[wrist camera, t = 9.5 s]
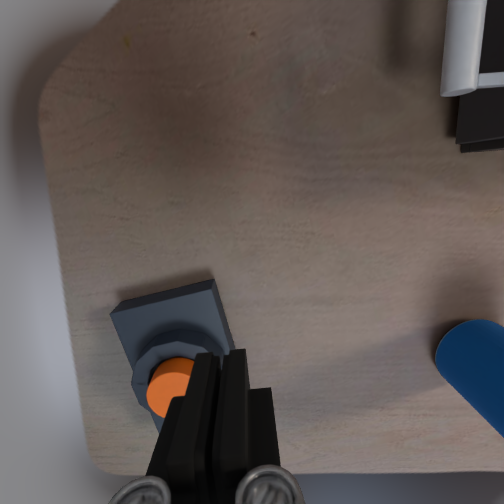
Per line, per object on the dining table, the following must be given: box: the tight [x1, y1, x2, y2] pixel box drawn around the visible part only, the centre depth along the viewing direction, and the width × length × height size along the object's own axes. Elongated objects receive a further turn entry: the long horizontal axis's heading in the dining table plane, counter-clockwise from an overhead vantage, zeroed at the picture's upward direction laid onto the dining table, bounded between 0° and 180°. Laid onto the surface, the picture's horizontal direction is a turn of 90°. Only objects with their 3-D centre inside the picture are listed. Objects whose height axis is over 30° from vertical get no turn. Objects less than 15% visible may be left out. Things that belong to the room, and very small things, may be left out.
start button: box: [146, 357, 194, 418], centre depth 21 cm, size 4×4×2 cm
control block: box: [110, 279, 235, 434], centre depth 23 cm, size 12×8×4 cm, turn 14°
